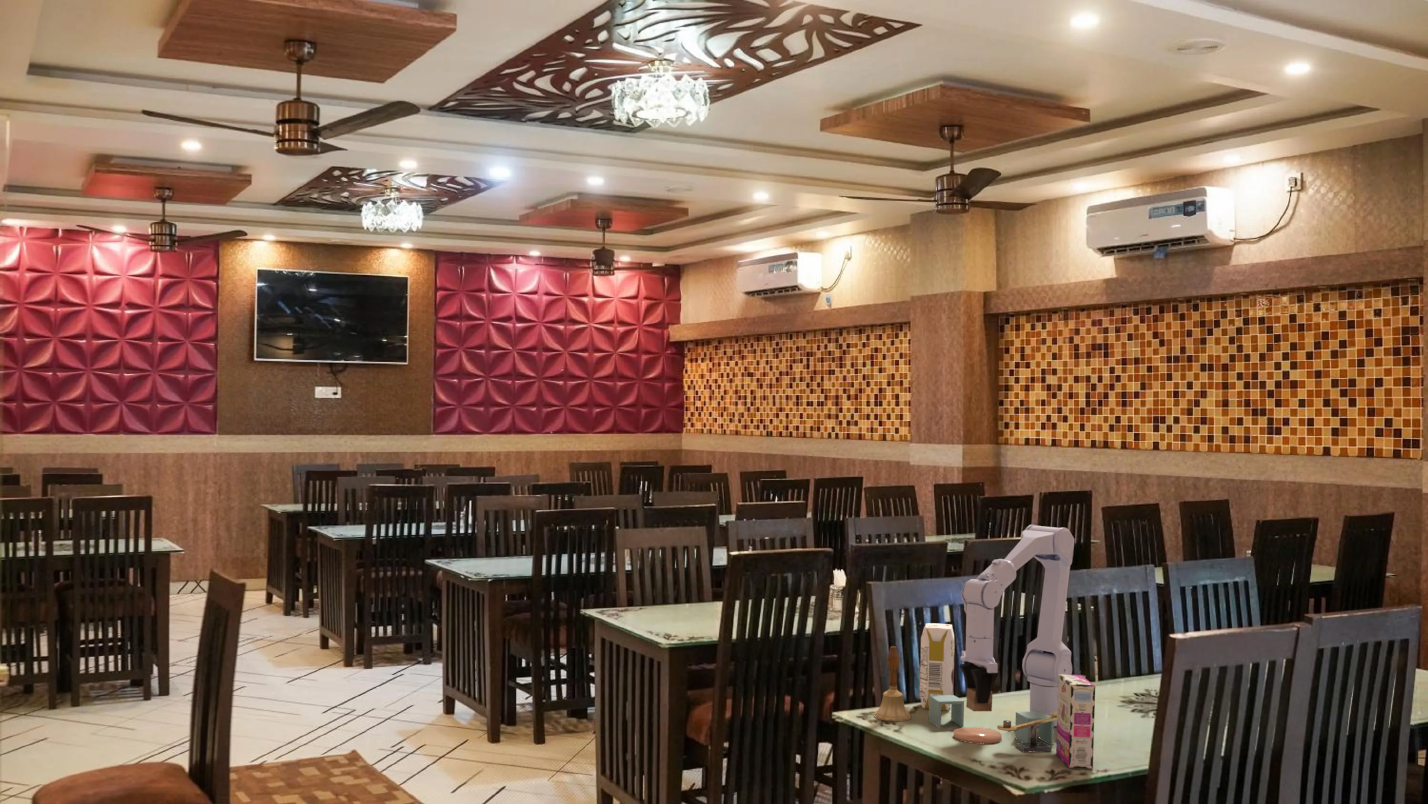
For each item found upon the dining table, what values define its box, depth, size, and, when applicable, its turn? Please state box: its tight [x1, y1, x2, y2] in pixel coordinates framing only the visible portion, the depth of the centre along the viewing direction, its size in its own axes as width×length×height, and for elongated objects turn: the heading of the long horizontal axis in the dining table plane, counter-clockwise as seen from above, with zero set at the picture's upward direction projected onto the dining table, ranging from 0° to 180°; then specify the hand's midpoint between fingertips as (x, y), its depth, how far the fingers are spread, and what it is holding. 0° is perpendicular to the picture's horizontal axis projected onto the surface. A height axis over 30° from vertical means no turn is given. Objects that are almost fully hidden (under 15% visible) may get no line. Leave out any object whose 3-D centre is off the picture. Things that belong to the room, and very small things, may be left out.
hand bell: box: [873, 645, 912, 722], centre depth 284 cm, size 8×8×16 cm
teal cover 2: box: [1014, 711, 1055, 745], centre depth 265 cm, size 6×6×6 cm
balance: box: [996, 711, 1057, 753], centre depth 258 cm, size 16×4×7 cm, turn 101°
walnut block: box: [965, 687, 993, 712], centre depth 266 cm, size 4×4×4 cm
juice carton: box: [919, 622, 955, 711], centre depth 295 cm, size 8×9×19 cm
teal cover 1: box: [928, 694, 965, 728], centre depth 279 cm, size 6×6×6 cm
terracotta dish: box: [953, 726, 1003, 745], centre depth 266 cm, size 10×10×1 cm
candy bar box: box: [1055, 674, 1096, 770], centre depth 249 cm, size 11×5×16 cm, turn 178°
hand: (978, 700), depth 266 cm, fingers closed on walnut block, 4 cm apart
